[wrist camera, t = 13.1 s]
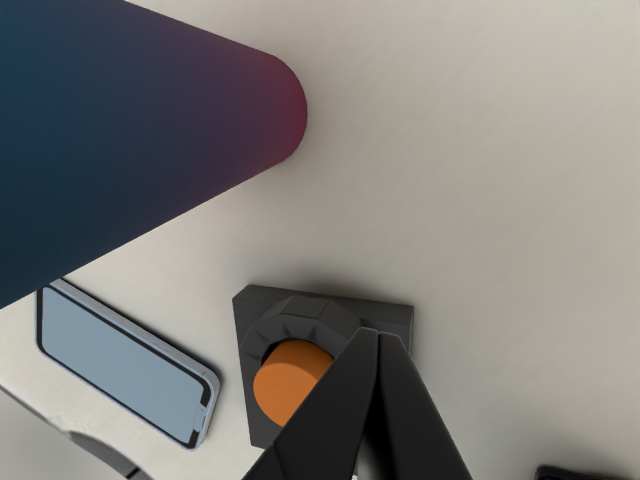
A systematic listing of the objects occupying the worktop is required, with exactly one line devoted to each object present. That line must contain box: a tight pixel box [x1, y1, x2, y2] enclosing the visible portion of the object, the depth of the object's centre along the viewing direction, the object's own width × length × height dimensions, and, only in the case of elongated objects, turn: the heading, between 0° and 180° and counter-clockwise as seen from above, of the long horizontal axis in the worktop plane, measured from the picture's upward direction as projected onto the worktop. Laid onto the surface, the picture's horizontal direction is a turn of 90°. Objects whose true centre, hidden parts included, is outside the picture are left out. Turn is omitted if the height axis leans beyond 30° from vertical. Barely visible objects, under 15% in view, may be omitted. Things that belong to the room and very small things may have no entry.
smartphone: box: [35, 278, 220, 451], centre depth 26 cm, size 7×1×15 cm
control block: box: [232, 285, 414, 476], centre depth 20 cm, size 11×9×4 cm
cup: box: [0, 0, 307, 309], centre depth 11 cm, size 7×7×15 cm
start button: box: [253, 340, 334, 427], centre depth 17 cm, size 4×4×2 cm
